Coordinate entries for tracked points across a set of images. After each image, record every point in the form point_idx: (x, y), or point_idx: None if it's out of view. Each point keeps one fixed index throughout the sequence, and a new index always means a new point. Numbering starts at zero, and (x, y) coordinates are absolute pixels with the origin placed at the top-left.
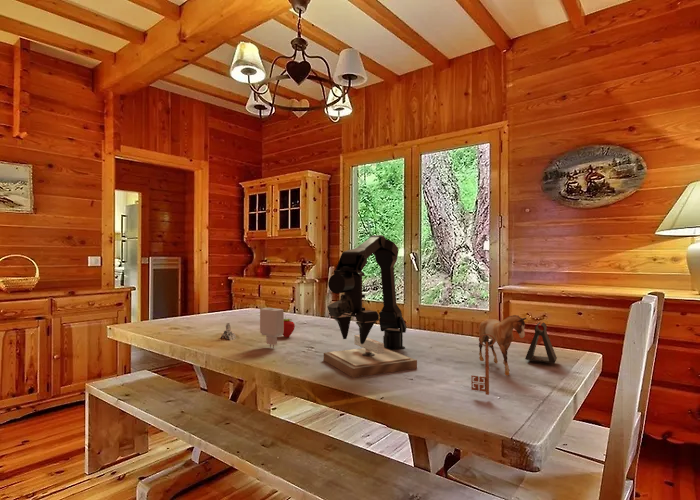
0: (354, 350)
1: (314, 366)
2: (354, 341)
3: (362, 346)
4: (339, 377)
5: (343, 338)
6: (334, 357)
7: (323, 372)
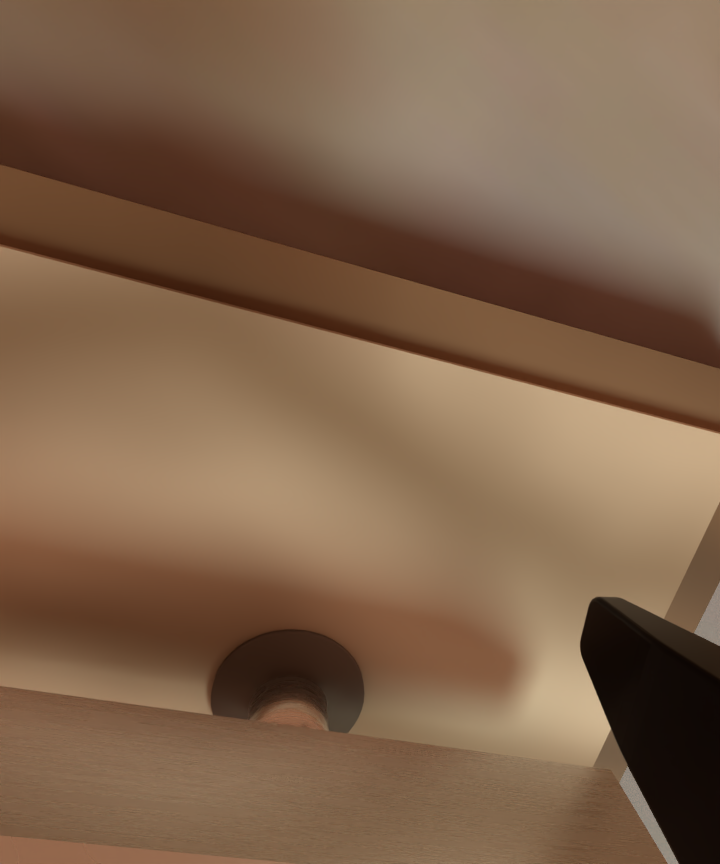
0: (567, 701)
1: (641, 117)
2: (630, 802)
3: (393, 750)
4: (39, 14)
5: (608, 599)
6: (534, 344)
7: (358, 12)
